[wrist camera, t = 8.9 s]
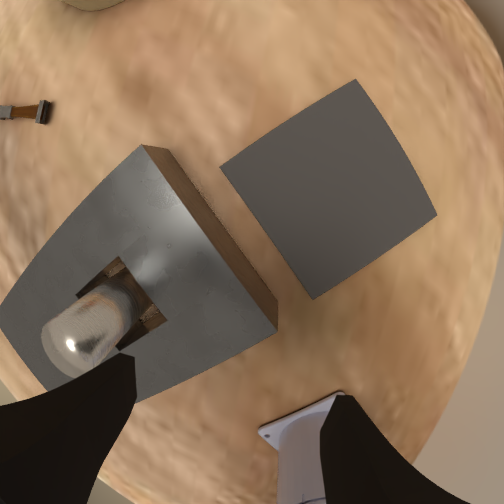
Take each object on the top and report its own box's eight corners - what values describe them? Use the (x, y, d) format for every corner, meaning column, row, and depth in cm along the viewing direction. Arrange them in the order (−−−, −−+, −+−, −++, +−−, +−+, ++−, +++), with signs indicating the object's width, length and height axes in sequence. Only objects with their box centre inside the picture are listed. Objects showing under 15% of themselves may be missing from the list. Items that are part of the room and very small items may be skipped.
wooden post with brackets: (-11, 105, 17) (-34, 100, 13) (59, 106, 20) (43, 99, 16) (-15, 124, 17) (-39, 122, 13) (55, 126, 20) (38, 123, 16)
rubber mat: (434, 214, 17) (437, 215, 17) (312, 297, 20) (312, 300, 19) (354, 80, 16) (355, 78, 16) (220, 167, 18) (219, 167, 18)
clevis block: (277, 301, 20) (277, 331, 16) (98, 399, 24) (80, 425, 20) (167, 149, 18) (141, 144, 14) (20, 300, 22) (-7, 316, 18)
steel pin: (171, 290, 20) (104, 370, 11) (140, 307, 21) (68, 384, 12) (148, 252, 20) (64, 311, 11) (118, 271, 20) (32, 332, 11)
